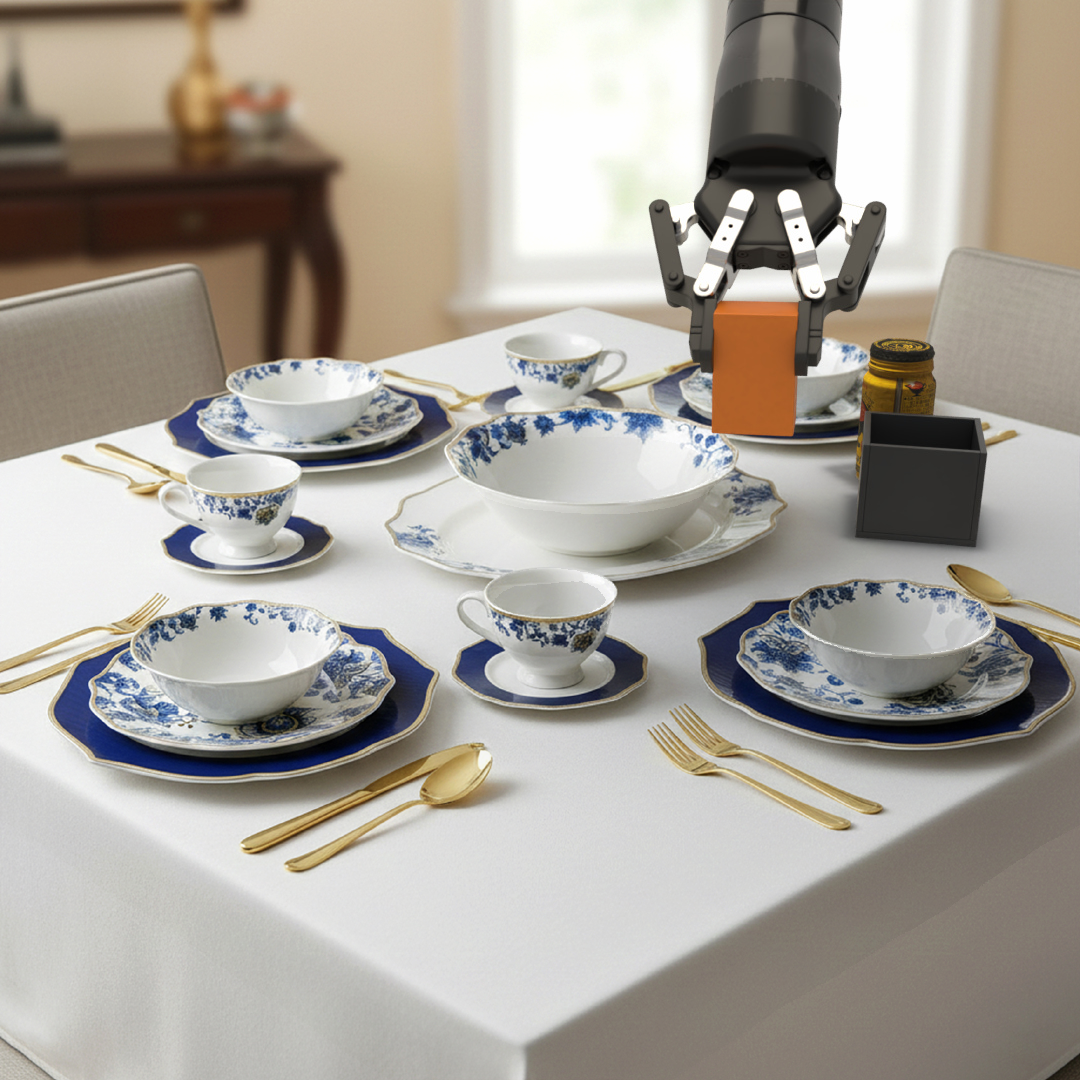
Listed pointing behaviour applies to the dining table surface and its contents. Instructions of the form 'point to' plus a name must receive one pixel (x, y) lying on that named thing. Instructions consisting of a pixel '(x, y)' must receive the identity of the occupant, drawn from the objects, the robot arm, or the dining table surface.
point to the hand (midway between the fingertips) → (753, 366)
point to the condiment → (897, 381)
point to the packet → (754, 368)
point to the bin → (921, 478)
